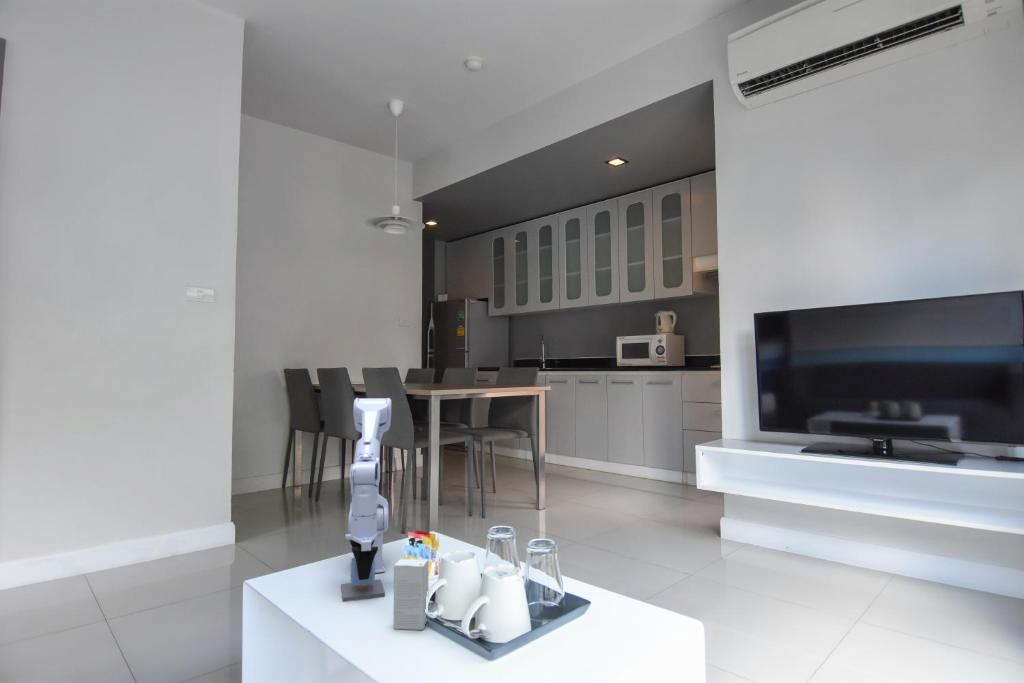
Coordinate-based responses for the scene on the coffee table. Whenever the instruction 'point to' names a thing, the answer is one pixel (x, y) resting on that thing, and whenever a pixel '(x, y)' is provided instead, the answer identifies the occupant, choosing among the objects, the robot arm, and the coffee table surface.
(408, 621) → the skincare box
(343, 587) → the plate
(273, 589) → the coffee table surface
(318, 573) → the coffee table surface
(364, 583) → the cap
